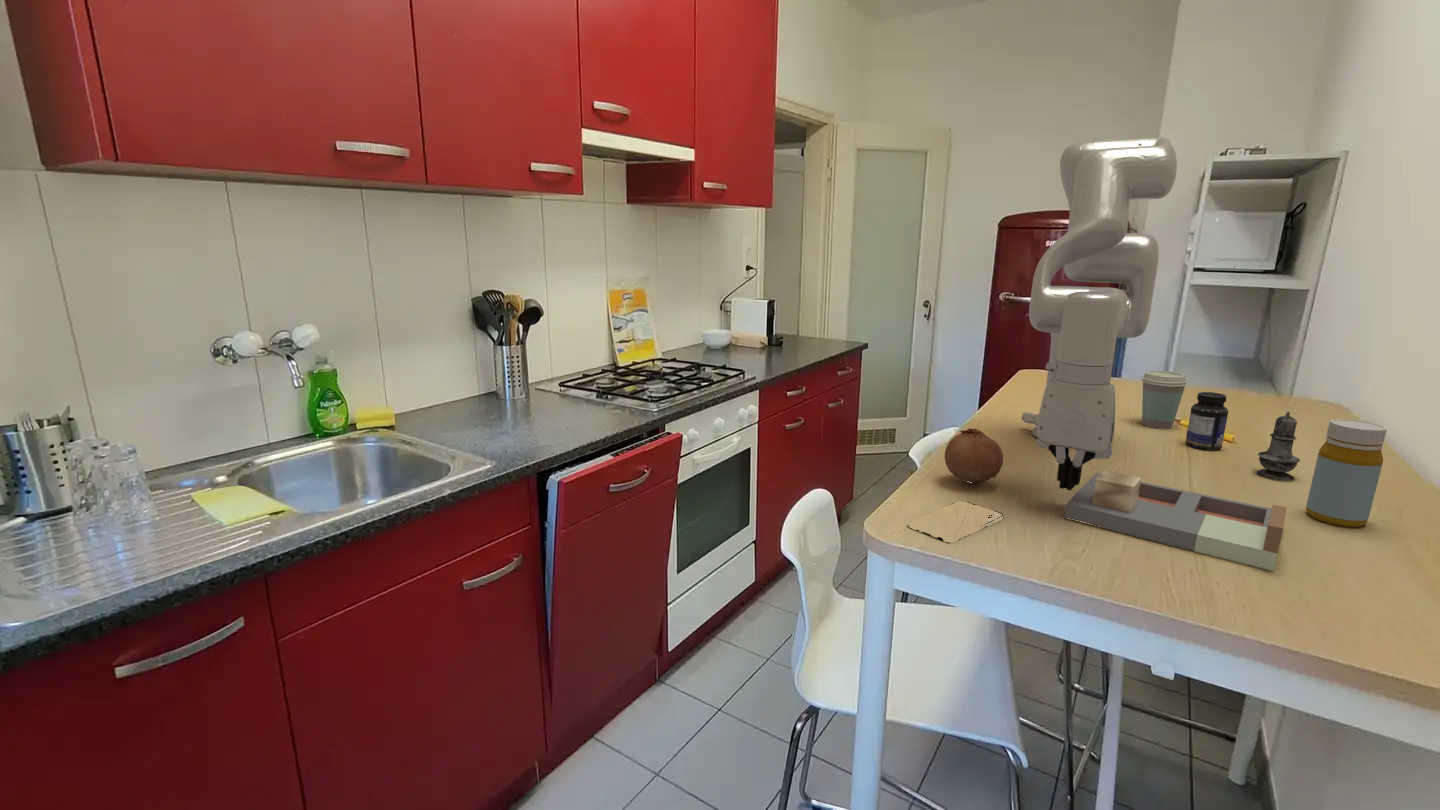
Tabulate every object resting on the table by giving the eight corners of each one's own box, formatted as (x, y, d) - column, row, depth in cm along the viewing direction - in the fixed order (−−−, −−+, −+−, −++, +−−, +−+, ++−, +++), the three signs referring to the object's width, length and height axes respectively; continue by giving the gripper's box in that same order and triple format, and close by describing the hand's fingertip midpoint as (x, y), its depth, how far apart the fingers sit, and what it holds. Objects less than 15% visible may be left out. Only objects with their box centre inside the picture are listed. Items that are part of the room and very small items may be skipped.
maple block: (1092, 503, 101) (1096, 479, 100) (1100, 494, 105) (1104, 470, 104) (1130, 512, 98) (1134, 487, 97) (1137, 502, 101) (1141, 477, 100)
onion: (933, 484, 116) (937, 429, 114) (956, 470, 123) (961, 418, 120) (987, 498, 110) (993, 440, 107) (1008, 482, 117) (1014, 428, 114)
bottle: (1372, 532, 96) (1397, 434, 93) (1309, 522, 100) (1331, 426, 96) (1359, 515, 102) (1383, 422, 98) (1301, 506, 106) (1321, 416, 102)
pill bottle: (1208, 442, 139) (1217, 390, 136) (1228, 451, 133) (1239, 398, 130) (1178, 442, 139) (1186, 390, 136) (1197, 451, 133) (1207, 397, 130)
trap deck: (1064, 518, 102) (1069, 482, 100) (1094, 486, 115) (1099, 453, 113) (1273, 571, 86) (1283, 528, 84) (1281, 526, 99) (1289, 488, 97)
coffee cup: (1188, 430, 147) (1197, 377, 144) (1149, 430, 147) (1158, 377, 144) (1163, 420, 155) (1172, 370, 152) (1127, 420, 155) (1134, 370, 152)
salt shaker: (1303, 482, 116) (1318, 416, 113) (1265, 480, 117) (1279, 414, 114) (1283, 471, 122) (1297, 408, 119) (1247, 469, 123) (1259, 406, 120)
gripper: (1023, 371, 103) (1010, 482, 107) (1133, 385, 93) (1114, 506, 98) (1038, 364, 108) (1026, 470, 113) (1144, 376, 99) (1126, 492, 103)
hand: (1067, 486), depth 105 cm, fingers closed
